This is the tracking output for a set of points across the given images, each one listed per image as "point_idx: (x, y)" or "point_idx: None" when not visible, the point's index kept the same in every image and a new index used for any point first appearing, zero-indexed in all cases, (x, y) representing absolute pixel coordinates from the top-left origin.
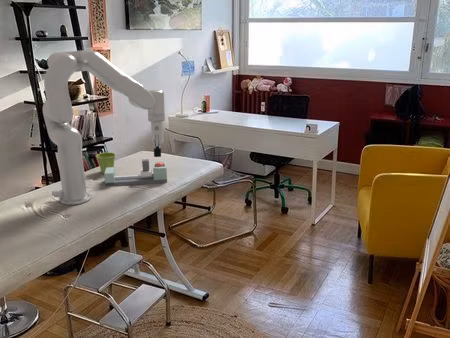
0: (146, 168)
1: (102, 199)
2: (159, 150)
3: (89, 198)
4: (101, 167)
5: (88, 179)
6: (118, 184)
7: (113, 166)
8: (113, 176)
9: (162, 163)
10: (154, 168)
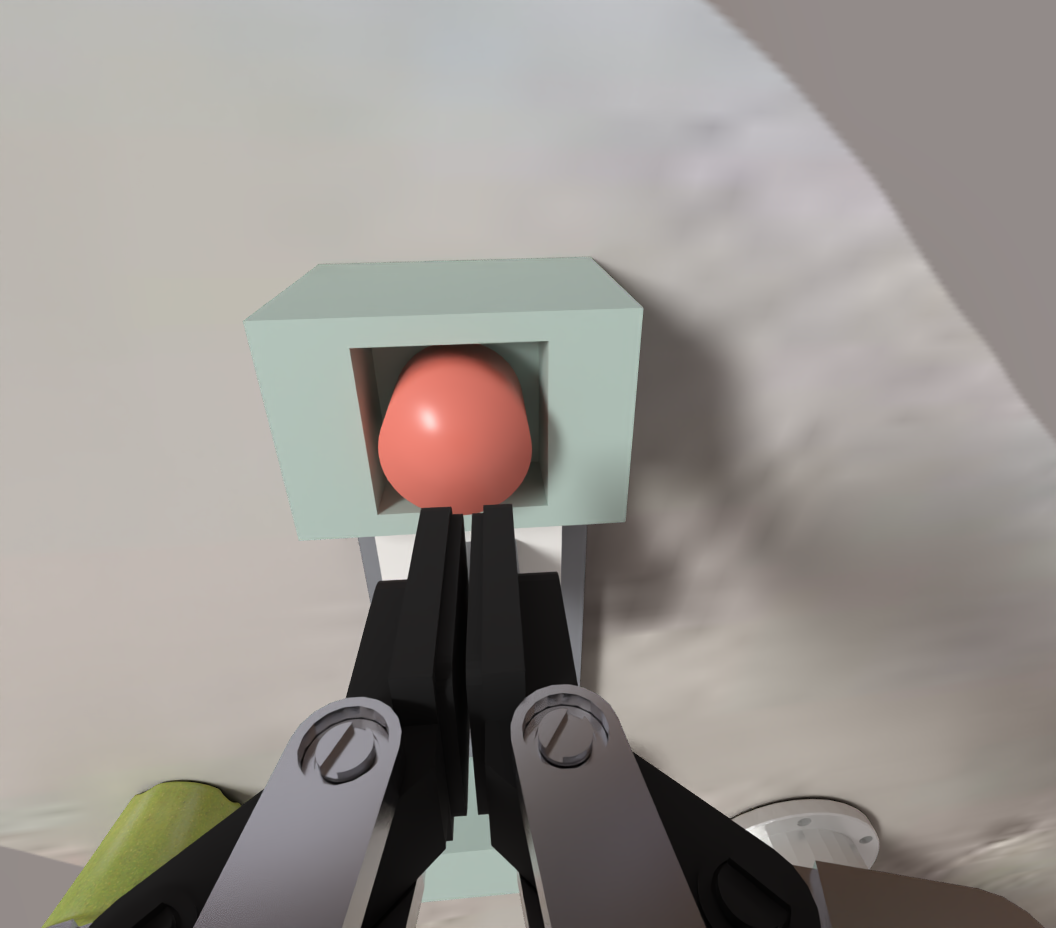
0: None
1: (847, 741)
2: (524, 651)
3: (827, 806)
4: None
5: None
6: None
7: (166, 829)
8: None
9: (473, 397)
10: (620, 505)
